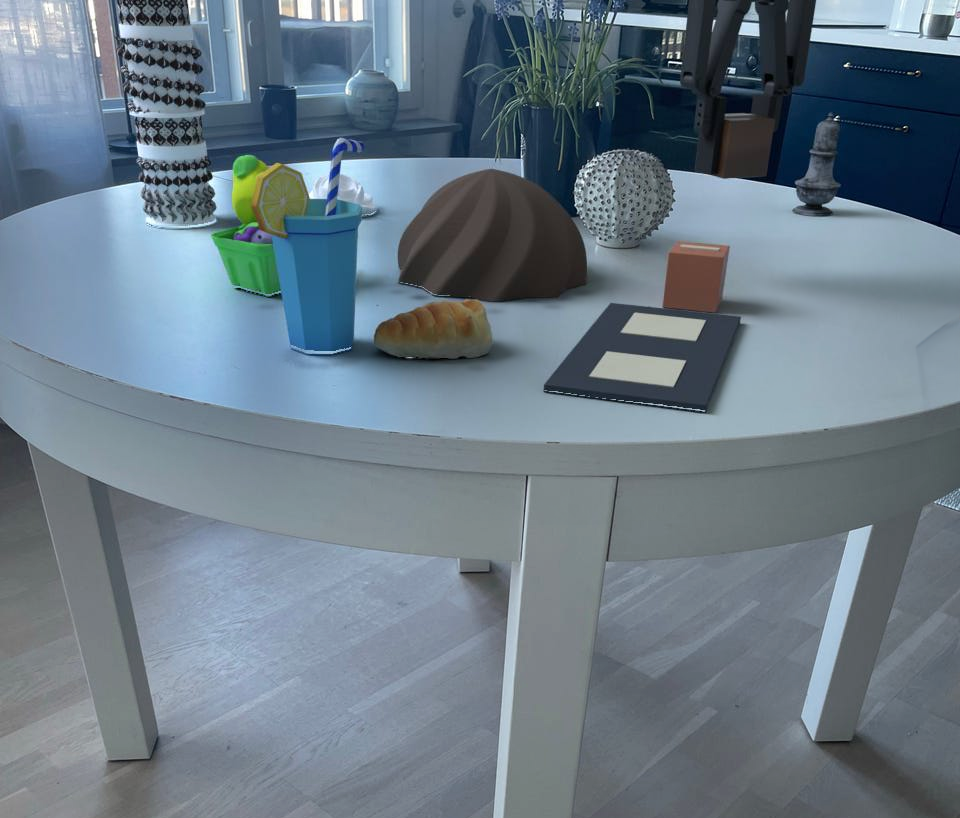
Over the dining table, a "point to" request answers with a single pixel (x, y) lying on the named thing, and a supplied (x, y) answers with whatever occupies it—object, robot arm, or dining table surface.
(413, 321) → the pastry
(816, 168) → the salt shaker
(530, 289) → the decorative dome
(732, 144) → the letter block
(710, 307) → the letter block
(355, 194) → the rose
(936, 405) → the dining table surface
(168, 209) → the bracelet display cylinder
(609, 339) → the word mat
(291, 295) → the cup
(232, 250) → the fruit basket
